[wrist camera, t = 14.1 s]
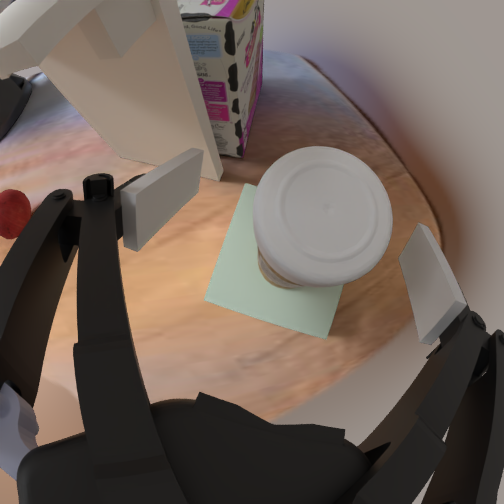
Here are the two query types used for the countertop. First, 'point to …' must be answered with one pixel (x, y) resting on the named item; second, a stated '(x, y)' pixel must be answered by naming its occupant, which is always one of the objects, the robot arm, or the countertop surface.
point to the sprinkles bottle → (320, 219)
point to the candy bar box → (227, 64)
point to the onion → (13, 213)
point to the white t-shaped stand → (117, 72)
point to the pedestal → (265, 282)
